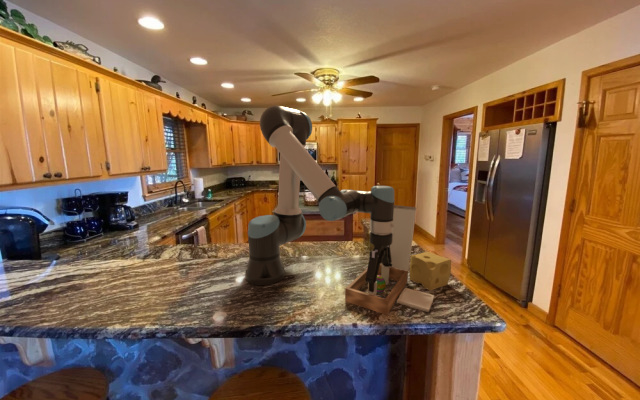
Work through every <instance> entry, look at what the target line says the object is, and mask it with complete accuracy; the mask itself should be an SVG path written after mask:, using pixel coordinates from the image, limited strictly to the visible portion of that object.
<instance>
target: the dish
mask: <svg viewBox="0 0 640 400" xmlns="http://www.w3.org/2000/svg"><path fill="white" fill-rule="evenodd" d="M434 299H435V294H430V293H427V292H423V291H420V290H416V289H412V288H408V287H404V289H403V290H402V292H401V294H400V295H399V297H398V298H397V300H396V303H397V304H400V305H403V306H406V307H409V308H410V307H411V308H412V309H416V310H420V311H422V312H426V313H430V310H431V308H432V305H433V303H434Z"/></svg>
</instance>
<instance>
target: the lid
mask: <svg viewBox="0 0 640 400" xmlns="http://www.w3.org/2000/svg"><path fill="white" fill-rule="evenodd" d="M416 213H417V206H405V205H396V204H394V214H393V224H394V225H395V226H394V227H393V231H392V232H391V233H392V234H393V236H392V244H391V245H390V251H391V260H392V262H391V263H390V264H392V267H393V268H396V269H400V270H405V271H408V272H410V259H411V255H412V254H411V253H412V245H413V238H414V229H415V222H416ZM380 265H383V264H382V263H380ZM383 266H384V265H383ZM389 267H390V266H389Z"/></svg>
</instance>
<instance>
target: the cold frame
mask: <svg viewBox="0 0 640 400" xmlns="http://www.w3.org/2000/svg"><path fill="white" fill-rule="evenodd" d="M382 266H384V265H380V266H379V270H378V274H377V275H381V269H382ZM367 269H368V267H366V268H365V269H364V270H363V271H362V272H361V273H359V275H358V276H357V277H356V278H355V279H354V280H352V281H351V282H350V283H349V285H347V287H345V289H344V290H345V292H344V302H347V303H349V304H352V305H356V306H359V307H361V308H365V309H367V310H371V311H373V312H376V313H380V314H383V315H385V316H388V314H389V313H390V311H391V310H392V308H393V306H394V305H395V303H397V300H398V298H399V297H400V295H401V293H402V292H403V290H404V289H405V288H406V285H407V284H408V277H409V271H406V270H401V269H397V268H393V267H389V280H390V281H391V280H392V281H394V282H395V281H396V283H395V285H394V286H393V287H392V288H391V291H390V292H389V294H388V295H387V296H386V297H385V298H384V297H380V296H378V295H376V296H375V295H371V294H368V292H364V291H361V289H362V288H363V287H364V286H365V285H366V284H367V282H366V281H365V278H366V274H367Z"/></svg>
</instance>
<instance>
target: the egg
mask: <svg viewBox="0 0 640 400" xmlns="http://www.w3.org/2000/svg"><path fill="white" fill-rule="evenodd" d="M376 281H377V293H376V294H378V295H379V294H383V293H384V292H385V291H386V289H387V287H386V286H387V284H386V282H385V280H384V278H383V277H382V276H381V275H377V278H376Z"/></svg>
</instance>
